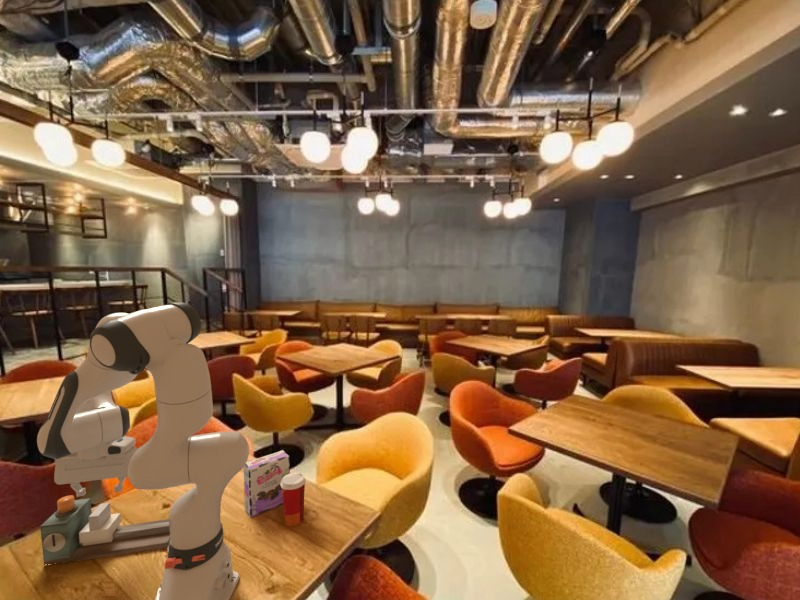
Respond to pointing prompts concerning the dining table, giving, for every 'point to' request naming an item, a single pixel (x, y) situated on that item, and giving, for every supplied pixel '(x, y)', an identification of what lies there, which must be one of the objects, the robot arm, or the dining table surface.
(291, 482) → the paper cup
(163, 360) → the robot arm
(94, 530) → the carriage
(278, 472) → the candy box
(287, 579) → the dining table surface
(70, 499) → the button
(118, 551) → the rail base
